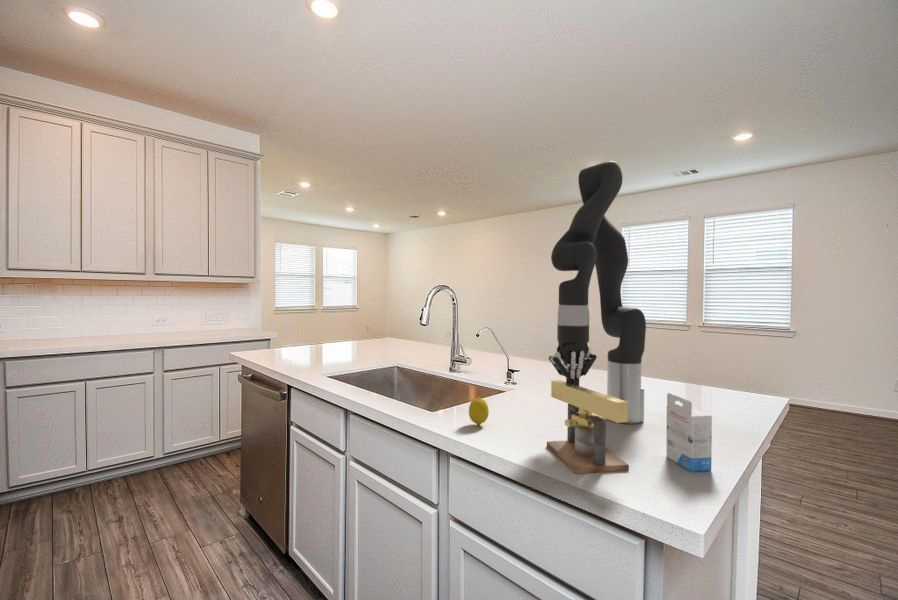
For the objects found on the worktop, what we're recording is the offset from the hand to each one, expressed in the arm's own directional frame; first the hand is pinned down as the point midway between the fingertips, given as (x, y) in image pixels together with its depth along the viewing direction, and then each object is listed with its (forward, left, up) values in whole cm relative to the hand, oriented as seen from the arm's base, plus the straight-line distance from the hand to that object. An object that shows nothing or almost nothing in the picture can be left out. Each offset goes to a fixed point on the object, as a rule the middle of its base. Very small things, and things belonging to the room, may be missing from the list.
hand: (572, 392), depth 100 cm
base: (+1, +9, -13) cm, 15 cm away
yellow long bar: (+1, +9, -5) cm, 10 cm away
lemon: (+20, -16, -13) cm, 29 cm away
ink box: (-20, +15, -13) cm, 28 cm away
